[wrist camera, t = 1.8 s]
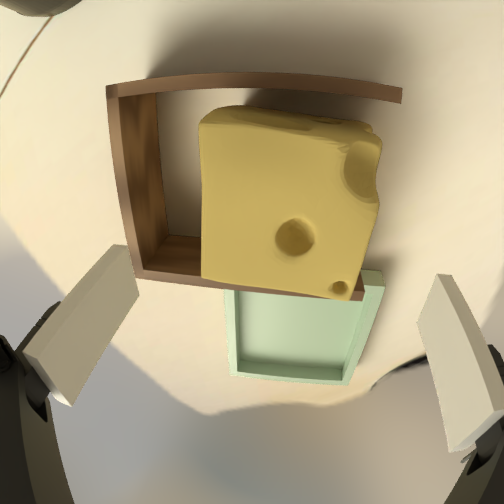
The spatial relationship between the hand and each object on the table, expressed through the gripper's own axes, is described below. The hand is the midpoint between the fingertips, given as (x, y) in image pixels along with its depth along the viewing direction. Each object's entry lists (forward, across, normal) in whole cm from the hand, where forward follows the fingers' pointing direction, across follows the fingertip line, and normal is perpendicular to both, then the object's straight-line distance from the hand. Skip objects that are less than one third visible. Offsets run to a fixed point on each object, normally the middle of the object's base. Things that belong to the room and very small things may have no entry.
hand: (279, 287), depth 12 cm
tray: (+15, +2, -17) cm, 22 cm away
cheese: (+15, 0, 0) cm, 15 cm away
